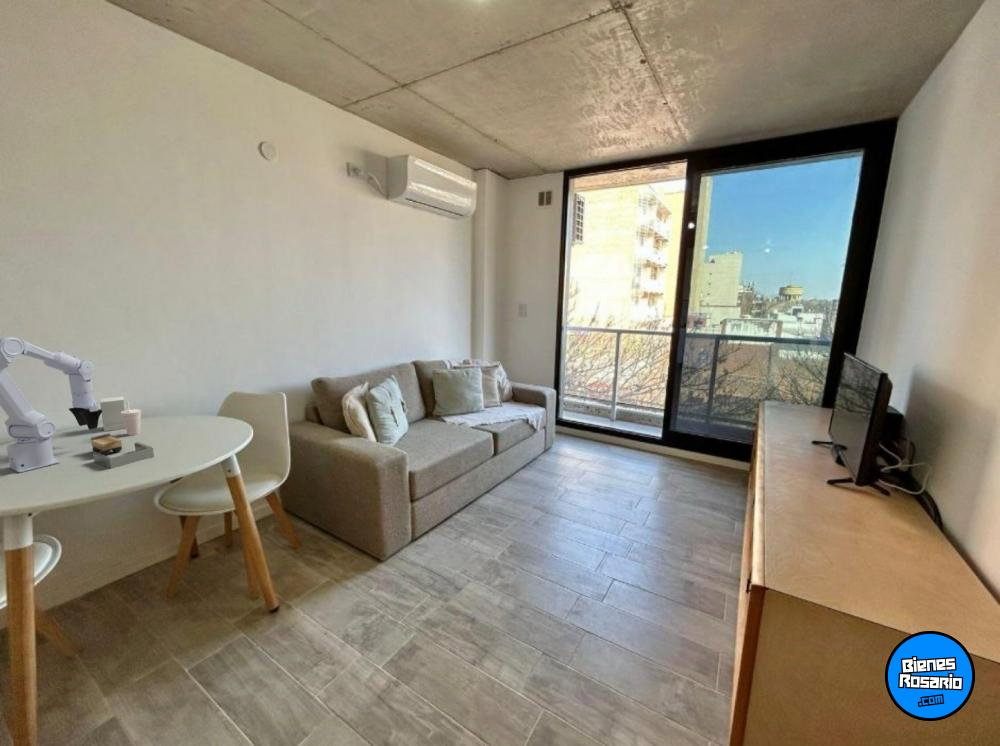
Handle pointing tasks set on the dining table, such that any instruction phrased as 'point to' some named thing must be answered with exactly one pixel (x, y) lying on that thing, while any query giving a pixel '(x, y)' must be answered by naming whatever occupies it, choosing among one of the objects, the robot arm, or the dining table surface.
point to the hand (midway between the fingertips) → (88, 426)
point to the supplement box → (112, 413)
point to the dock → (125, 456)
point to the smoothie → (132, 420)
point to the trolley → (105, 444)
